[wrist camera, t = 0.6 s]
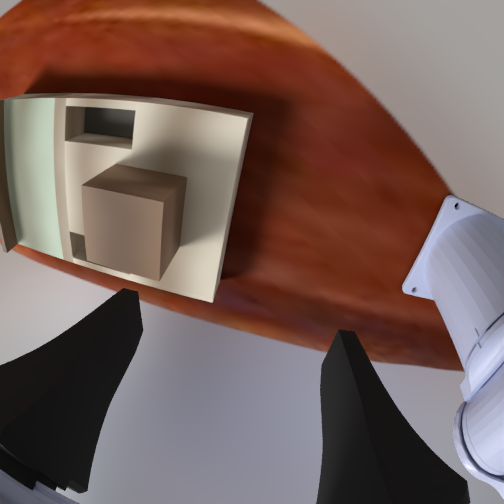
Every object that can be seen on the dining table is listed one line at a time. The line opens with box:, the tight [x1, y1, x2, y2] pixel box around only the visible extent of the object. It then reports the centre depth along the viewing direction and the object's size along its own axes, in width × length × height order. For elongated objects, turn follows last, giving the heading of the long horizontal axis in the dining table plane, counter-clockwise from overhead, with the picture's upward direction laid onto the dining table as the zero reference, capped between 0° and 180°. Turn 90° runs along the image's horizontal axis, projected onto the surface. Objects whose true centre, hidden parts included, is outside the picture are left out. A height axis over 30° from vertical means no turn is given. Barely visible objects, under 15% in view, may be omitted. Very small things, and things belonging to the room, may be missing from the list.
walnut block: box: [81, 164, 187, 282], centre depth 16 cm, size 4×4×4 cm
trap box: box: [0, 93, 254, 303], centre depth 18 cm, size 18×12×4 cm, turn 79°
